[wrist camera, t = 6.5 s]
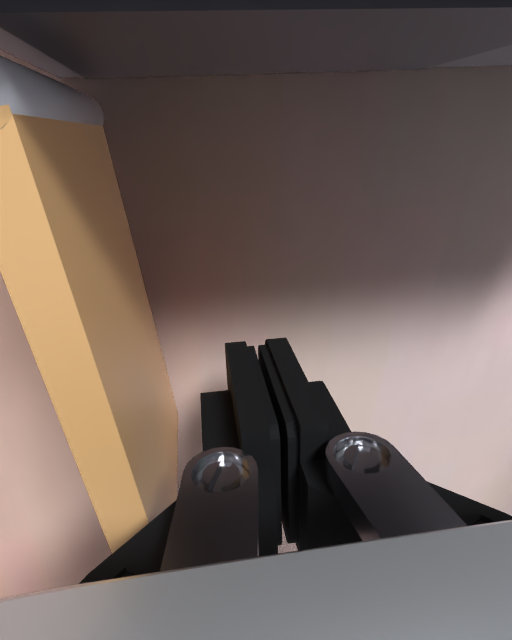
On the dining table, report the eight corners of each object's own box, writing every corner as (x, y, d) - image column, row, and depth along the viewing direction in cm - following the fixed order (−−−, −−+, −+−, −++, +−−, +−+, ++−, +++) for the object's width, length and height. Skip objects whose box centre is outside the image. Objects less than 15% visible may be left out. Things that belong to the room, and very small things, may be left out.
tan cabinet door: (140, 422, 15) (112, 617, 9) (41, 98, 11) (-133, 51, 5) (181, 414, 15) (180, 600, 9) (97, 89, 11) (-6, 33, 5)
